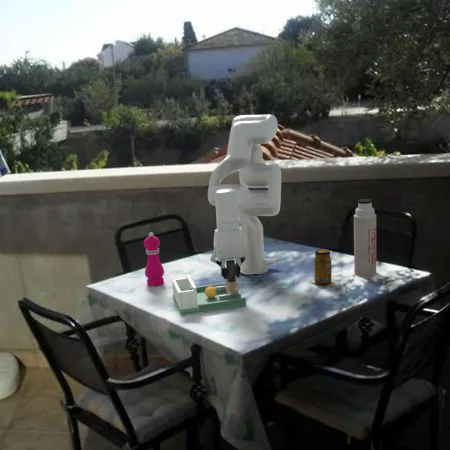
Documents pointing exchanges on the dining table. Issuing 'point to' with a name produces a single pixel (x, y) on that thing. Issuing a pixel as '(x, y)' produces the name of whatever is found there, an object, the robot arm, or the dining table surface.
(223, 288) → the kicker track
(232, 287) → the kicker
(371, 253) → the thermos bottle
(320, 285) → the condiment
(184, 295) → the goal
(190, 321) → the dining table surface
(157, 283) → the pepper mill
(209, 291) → the ball
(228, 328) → the dining table surface
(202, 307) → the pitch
